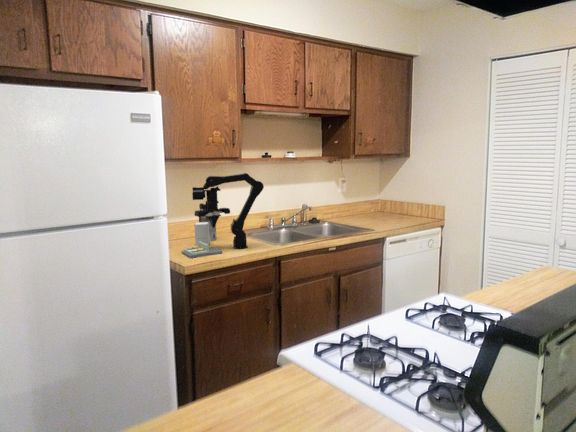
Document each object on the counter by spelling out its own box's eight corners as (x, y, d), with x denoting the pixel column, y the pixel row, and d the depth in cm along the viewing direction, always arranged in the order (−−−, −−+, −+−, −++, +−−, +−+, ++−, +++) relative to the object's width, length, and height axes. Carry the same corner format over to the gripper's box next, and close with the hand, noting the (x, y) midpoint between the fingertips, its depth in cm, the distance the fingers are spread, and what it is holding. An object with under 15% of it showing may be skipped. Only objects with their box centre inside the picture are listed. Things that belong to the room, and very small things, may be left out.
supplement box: (210, 243, 248) (209, 221, 246) (208, 245, 240) (207, 224, 238) (197, 243, 247) (196, 222, 245) (195, 246, 240) (194, 224, 238)
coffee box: (199, 239, 258) (197, 213, 255) (207, 238, 263) (206, 212, 260) (209, 241, 252) (208, 215, 250) (217, 239, 257) (216, 213, 254)
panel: (200, 248, 228) (199, 241, 227) (208, 252, 218) (208, 244, 218) (183, 250, 223) (183, 243, 223) (192, 255, 213) (191, 247, 213)
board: (212, 248, 233) (212, 242, 232) (222, 253, 222) (222, 246, 221) (181, 253, 223) (181, 246, 223) (190, 258, 212) (190, 251, 212)
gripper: (220, 196, 240) (221, 223, 242) (189, 199, 229) (191, 227, 231) (230, 198, 231) (231, 226, 233) (198, 201, 220) (199, 230, 222)
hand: (213, 227), depth 230 cm, fingers closed
